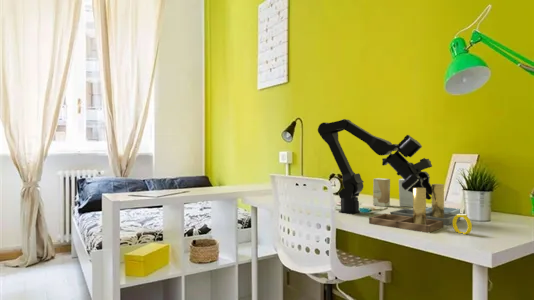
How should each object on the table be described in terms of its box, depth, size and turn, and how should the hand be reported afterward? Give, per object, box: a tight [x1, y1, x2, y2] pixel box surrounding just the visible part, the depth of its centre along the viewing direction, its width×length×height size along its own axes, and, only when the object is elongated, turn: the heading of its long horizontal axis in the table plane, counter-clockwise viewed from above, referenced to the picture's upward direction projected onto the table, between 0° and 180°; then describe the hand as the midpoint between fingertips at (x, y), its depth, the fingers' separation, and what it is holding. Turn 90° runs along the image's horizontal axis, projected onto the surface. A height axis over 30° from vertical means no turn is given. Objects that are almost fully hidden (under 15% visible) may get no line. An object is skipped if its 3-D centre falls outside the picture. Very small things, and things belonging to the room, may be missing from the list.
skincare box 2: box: [398, 178, 413, 208], centre depth 168 cm, size 6×4×12 cm
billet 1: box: [412, 187, 427, 225], centre depth 124 cm, size 4×4×13 cm
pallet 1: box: [368, 213, 444, 233], centre depth 128 cm, size 21×11×2 cm, turn 44°
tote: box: [426, 206, 461, 215], centre depth 147 cm, size 11×11×2 cm
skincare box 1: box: [372, 177, 391, 208], centre depth 170 cm, size 6×4×12 cm
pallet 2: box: [389, 208, 461, 226], centre depth 138 cm, size 21×11×2 cm, turn 44°
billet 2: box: [431, 183, 445, 218], centre depth 135 cm, size 4×4×13 cm
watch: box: [452, 213, 473, 235], centre depth 115 cm, size 6×3×6 cm, turn 20°
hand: (433, 197), depth 136 cm, fingers open, 9 cm apart
